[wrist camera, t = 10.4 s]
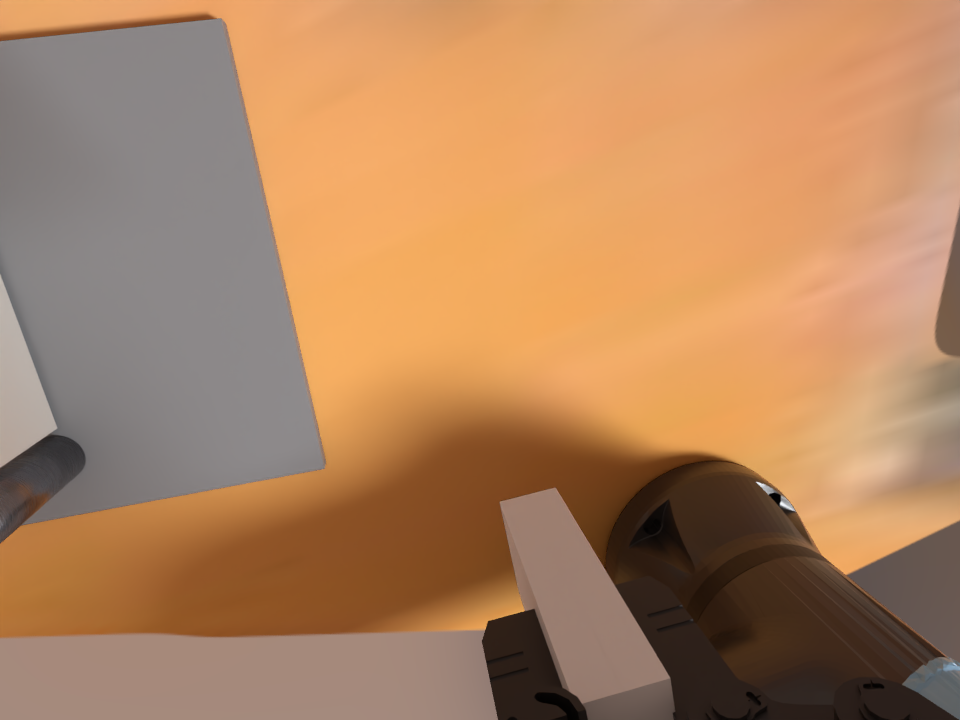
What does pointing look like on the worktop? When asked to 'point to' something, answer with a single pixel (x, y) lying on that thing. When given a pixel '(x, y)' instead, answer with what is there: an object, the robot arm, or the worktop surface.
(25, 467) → the hinge post
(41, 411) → the rod
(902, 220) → the worktop surface
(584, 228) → the worktop surface
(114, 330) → the board
